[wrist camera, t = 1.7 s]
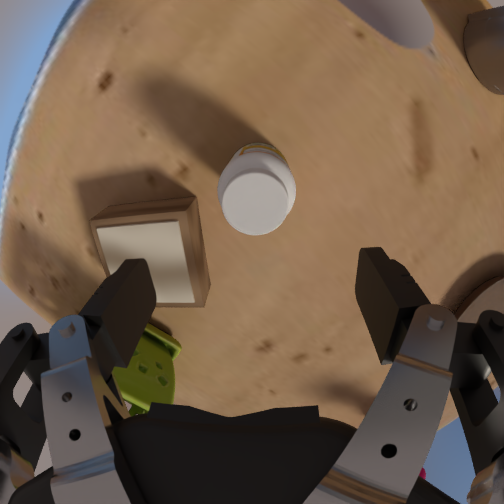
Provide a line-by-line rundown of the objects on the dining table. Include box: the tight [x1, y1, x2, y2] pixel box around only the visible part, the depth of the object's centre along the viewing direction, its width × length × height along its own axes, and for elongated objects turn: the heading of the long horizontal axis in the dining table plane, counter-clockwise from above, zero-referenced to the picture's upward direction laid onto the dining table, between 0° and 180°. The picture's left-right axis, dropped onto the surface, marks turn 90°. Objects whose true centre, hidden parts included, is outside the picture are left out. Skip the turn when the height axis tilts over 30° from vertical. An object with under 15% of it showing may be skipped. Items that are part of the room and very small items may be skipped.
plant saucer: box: [454, 276, 504, 323], centre depth 31 cm, size 18×18×3 cm
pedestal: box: [89, 197, 211, 307], centre depth 27 cm, size 10×10×4 cm
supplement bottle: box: [218, 143, 296, 235], centre depth 21 cm, size 5×5×10 cm
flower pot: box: [112, 323, 182, 416], centre depth 31 cm, size 14×14×13 cm
